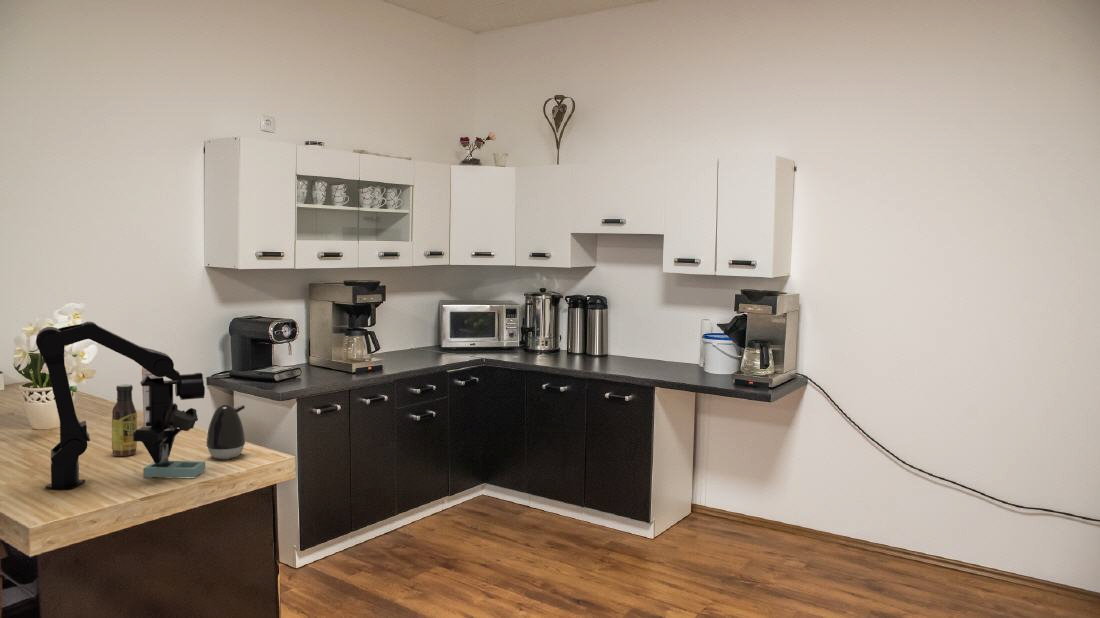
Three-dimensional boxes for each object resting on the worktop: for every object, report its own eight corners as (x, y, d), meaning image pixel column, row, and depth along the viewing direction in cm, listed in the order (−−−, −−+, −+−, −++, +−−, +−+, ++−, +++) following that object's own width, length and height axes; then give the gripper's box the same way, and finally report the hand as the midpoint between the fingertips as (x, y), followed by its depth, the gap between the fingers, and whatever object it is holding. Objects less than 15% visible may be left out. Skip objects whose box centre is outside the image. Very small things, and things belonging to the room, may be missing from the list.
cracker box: (144, 423, 262) (143, 360, 260) (164, 422, 265) (163, 360, 263) (142, 433, 249) (141, 367, 248) (163, 431, 252) (162, 366, 250)
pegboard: (194, 478, 205) (194, 468, 204) (143, 477, 204) (143, 468, 204) (205, 470, 212) (205, 461, 211) (156, 469, 211) (156, 460, 211)
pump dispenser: (251, 458, 225) (251, 405, 223) (213, 464, 218) (213, 409, 217) (238, 450, 232) (238, 399, 231) (201, 455, 226) (200, 403, 224)
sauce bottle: (126, 458, 221) (124, 388, 220) (106, 456, 223) (105, 386, 221) (142, 452, 228) (141, 384, 226) (123, 450, 229) (122, 382, 227)
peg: (165, 475, 206) (165, 445, 206) (153, 475, 206) (153, 445, 206) (170, 472, 209) (170, 442, 209) (159, 472, 209) (158, 442, 209)
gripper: (176, 409, 197) (177, 470, 199) (206, 395, 216) (207, 451, 217) (131, 408, 197) (132, 470, 198) (165, 394, 215) (166, 450, 217)
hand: (162, 460), depth 208 cm, fingers open, 5 cm apart
